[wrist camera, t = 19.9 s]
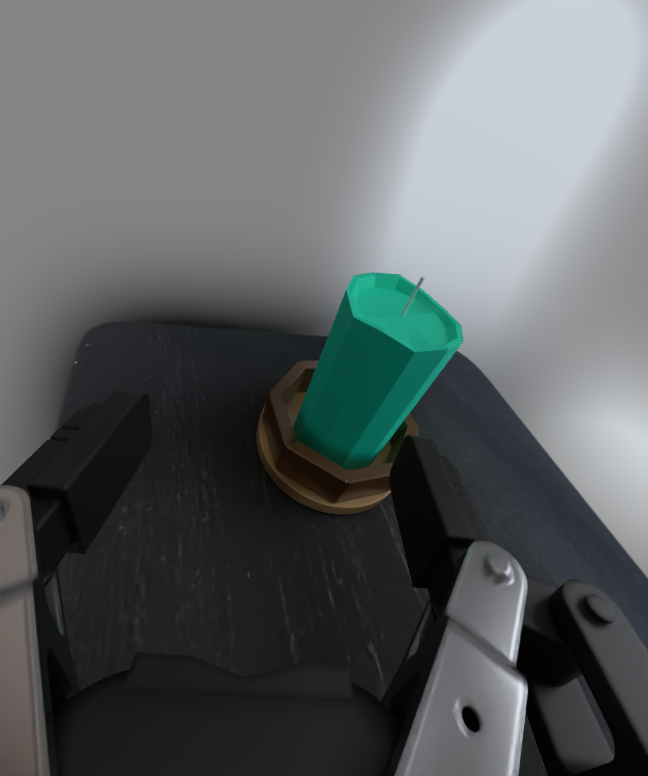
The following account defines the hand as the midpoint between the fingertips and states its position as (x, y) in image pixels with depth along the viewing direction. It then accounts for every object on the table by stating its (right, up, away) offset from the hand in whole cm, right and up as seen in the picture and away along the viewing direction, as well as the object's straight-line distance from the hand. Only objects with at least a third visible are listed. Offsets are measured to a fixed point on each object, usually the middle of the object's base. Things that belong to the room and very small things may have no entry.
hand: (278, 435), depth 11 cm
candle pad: (+2, -2, +13) cm, 13 cm away
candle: (+2, -2, +12) cm, 13 cm away
